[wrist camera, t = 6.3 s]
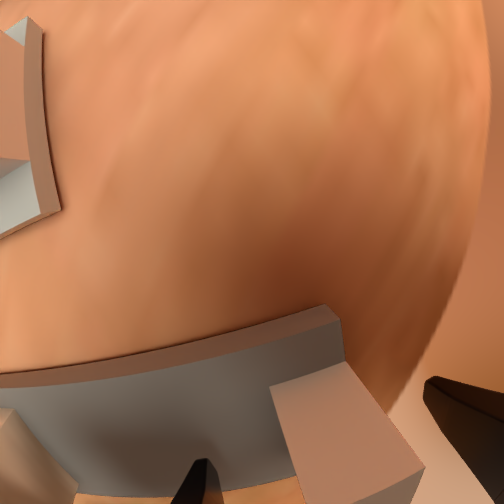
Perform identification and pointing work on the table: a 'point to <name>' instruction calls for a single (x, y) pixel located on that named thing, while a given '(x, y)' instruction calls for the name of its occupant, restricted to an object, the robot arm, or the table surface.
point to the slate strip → (23, 131)
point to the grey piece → (222, 417)
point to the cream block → (29, 467)
